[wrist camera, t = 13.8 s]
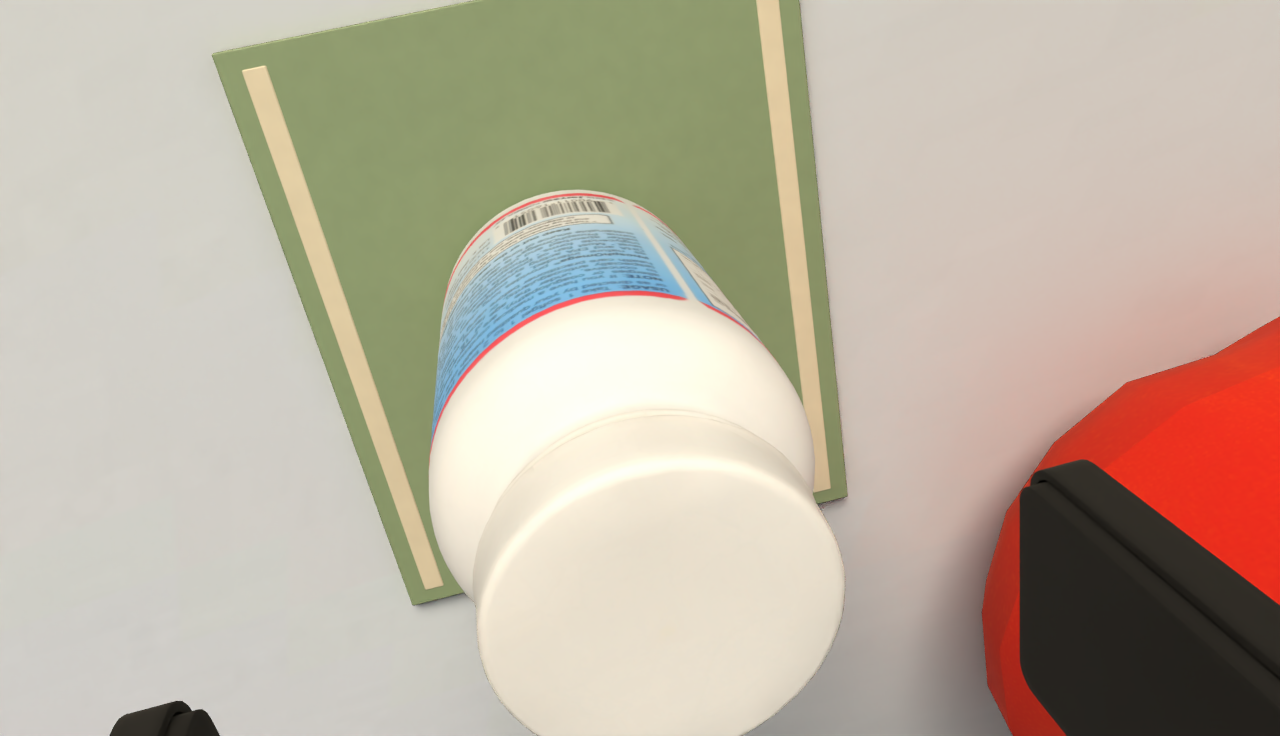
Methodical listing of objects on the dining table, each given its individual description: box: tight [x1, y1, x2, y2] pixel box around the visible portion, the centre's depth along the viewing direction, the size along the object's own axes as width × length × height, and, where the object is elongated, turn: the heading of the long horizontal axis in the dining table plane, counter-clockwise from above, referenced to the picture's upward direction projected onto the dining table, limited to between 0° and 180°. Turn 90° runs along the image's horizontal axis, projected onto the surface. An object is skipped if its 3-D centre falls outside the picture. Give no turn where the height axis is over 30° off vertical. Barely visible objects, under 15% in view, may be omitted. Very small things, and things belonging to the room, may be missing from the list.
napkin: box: [212, 0, 847, 605], centre depth 21 cm, size 14×12×1 cm
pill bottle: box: [429, 190, 845, 736], centre depth 16 cm, size 6×6×11 cm
